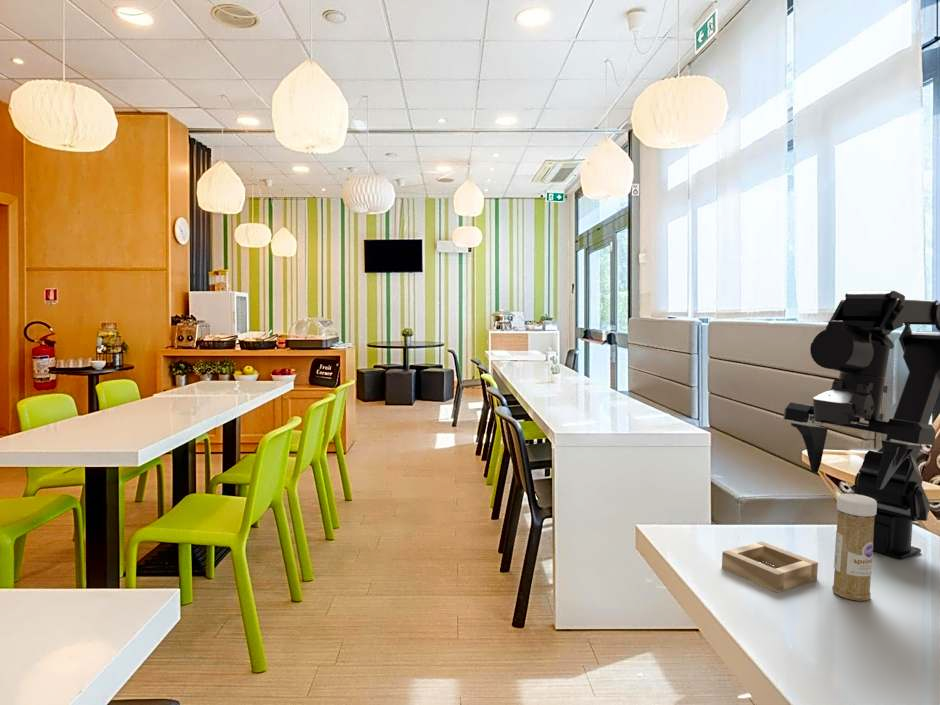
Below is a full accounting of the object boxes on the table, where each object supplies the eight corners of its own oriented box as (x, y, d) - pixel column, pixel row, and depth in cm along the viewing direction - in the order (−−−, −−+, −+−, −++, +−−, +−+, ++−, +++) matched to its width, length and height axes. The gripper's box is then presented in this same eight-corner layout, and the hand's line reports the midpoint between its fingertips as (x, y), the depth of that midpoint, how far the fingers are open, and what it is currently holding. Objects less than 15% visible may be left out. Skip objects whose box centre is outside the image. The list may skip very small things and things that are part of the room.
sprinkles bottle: (863, 605, 82) (870, 504, 81) (826, 593, 86) (831, 496, 85) (875, 595, 85) (882, 498, 84) (839, 583, 89) (845, 490, 88)
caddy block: (761, 557, 98) (762, 541, 98) (817, 579, 90) (818, 562, 90) (721, 568, 94) (722, 551, 93) (776, 592, 86) (777, 574, 86)
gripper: (771, 363, 96) (755, 464, 96) (908, 378, 80) (890, 499, 81) (810, 370, 102) (795, 465, 102) (945, 385, 86) (927, 498, 87)
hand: (845, 480), depth 93 cm, fingers open, 9 cm apart
